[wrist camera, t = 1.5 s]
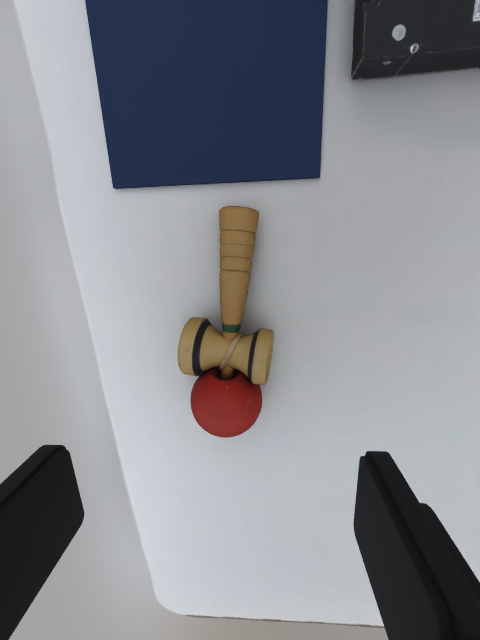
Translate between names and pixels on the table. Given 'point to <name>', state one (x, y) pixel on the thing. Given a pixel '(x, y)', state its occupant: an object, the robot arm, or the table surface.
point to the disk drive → (414, 37)
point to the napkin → (210, 89)
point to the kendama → (228, 339)
